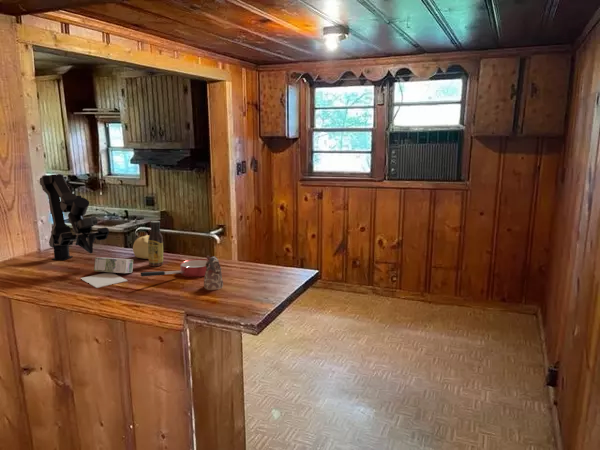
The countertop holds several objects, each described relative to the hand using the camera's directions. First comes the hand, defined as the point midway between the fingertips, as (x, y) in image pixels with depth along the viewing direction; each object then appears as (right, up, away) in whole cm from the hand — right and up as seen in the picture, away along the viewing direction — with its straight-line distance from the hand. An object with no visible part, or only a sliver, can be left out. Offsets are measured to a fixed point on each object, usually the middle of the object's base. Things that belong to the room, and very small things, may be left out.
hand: (91, 252), depth 176 cm
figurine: (+52, -12, -12) cm, 55 cm away
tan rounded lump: (+12, -4, +29) cm, 32 cm away
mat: (+7, -10, -5) cm, 14 cm away
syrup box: (0, -5, +5) cm, 7 cm away
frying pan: (+37, -11, -3) cm, 38 cm away
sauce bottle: (+21, -7, +16) cm, 28 cm away
